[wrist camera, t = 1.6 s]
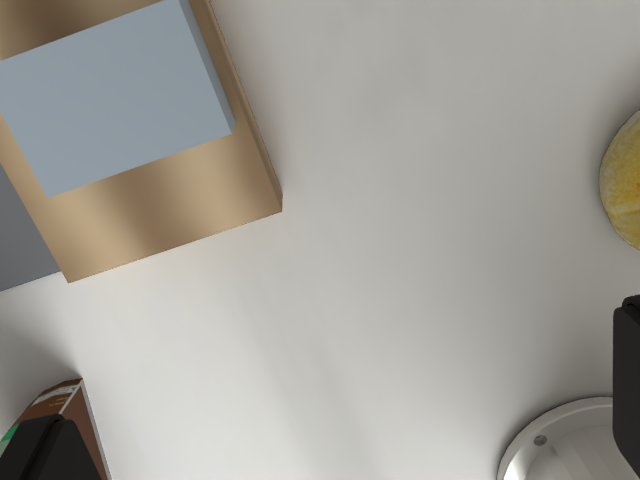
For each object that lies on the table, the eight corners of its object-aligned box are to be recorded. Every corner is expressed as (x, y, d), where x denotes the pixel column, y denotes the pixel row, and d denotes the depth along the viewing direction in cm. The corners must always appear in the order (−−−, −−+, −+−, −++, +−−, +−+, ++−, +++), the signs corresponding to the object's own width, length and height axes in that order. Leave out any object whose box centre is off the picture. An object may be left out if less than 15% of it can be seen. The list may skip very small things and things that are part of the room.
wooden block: (163, -120, 28) (148, -133, 25) (282, 193, 34) (281, 211, 31) (-71, -29, 29) (-109, -31, 26) (86, 260, 35) (68, 283, 32)
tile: (186, -5, 27) (176, -5, 24) (236, 122, 29) (231, 133, 27) (3, 63, 28) (-23, 69, 25) (66, 182, 30) (47, 198, 27)
